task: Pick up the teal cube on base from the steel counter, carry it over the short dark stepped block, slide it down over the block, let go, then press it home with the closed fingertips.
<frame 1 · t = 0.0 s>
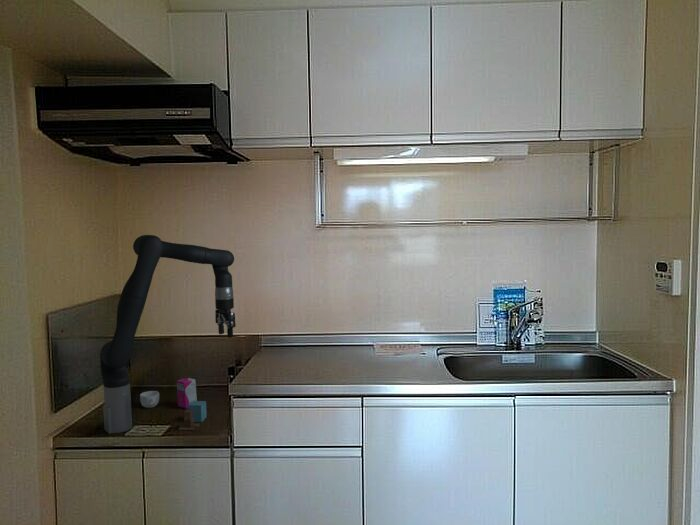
hand: (225, 335, 244), 29 cm above the countertop, tool pointing down, fingers open, 8 cm apart
dark stepped block: (189, 427, 219), on the countertop
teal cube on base: (197, 419, 227), on the countertop
supplement box: (187, 407, 243), on the countertop
teacup: (150, 407, 244), on the countertop
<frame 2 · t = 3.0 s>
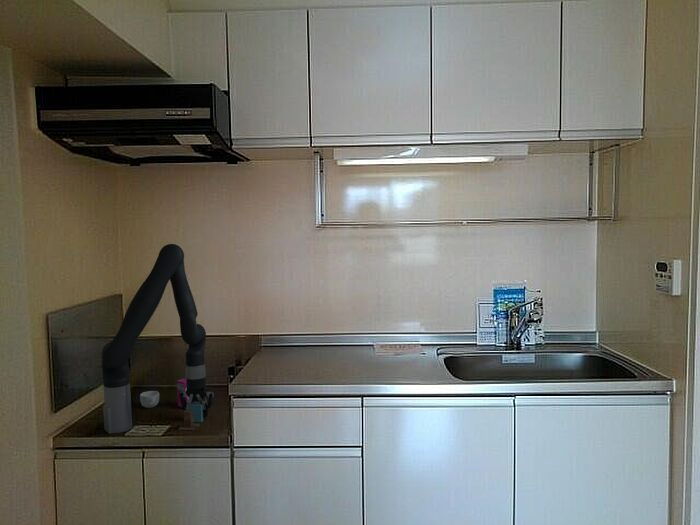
hand: (197, 417, 227), 1 cm above the countertop, tool pointing down, fingers closed on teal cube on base, 5 cm apart
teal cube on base: (197, 419, 227), on the countertop, touching gripper
everything else where it was.
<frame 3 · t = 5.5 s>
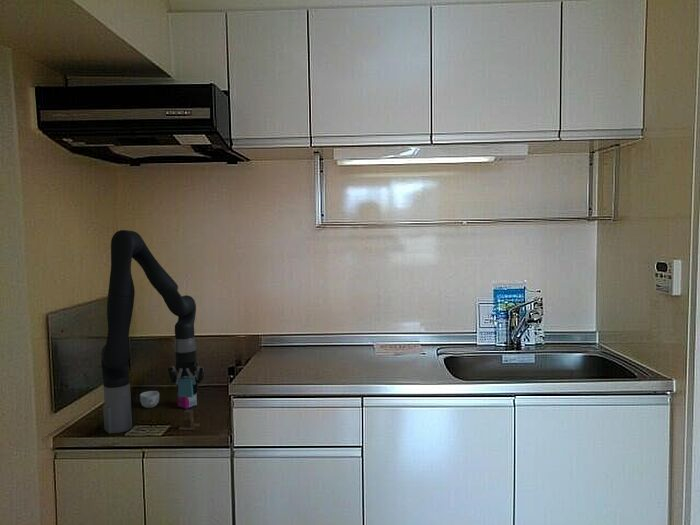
hand: (187, 393, 218), 13 cm above the countertop, tool pointing down, fingers closed on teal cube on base, 5 cm apart
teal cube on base: (188, 395, 218), point 12 cm above the countertop, touching gripper
everything else where it was.
when the fingers open (2 cm above the countertop, at t = 7.6 s): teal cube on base drops 1 cm, resting on dark stepped block.
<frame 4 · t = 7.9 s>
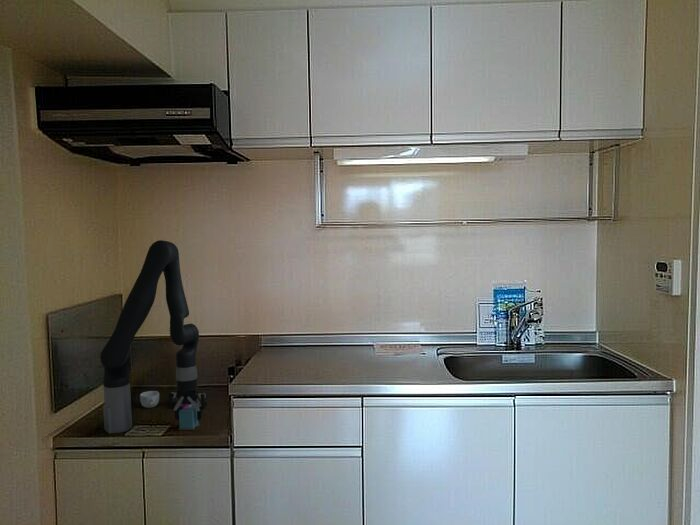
hand: (188, 419, 219), 3 cm above the countertop, tool pointing down, fingers open, 8 cm apart
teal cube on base: (189, 426, 219), resting on dark stepped block
everything else where it was.
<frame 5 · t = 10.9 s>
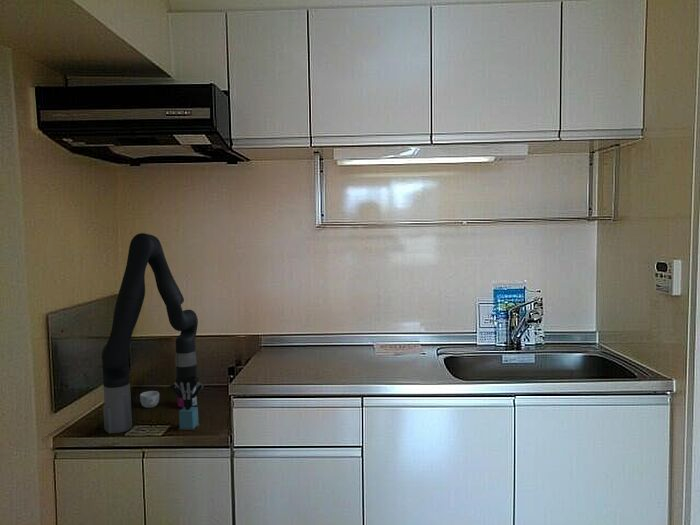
hand: (188, 408, 218), 7 cm above the countertop, tool pointing down, fingers closed
nothing on the countertop moved.
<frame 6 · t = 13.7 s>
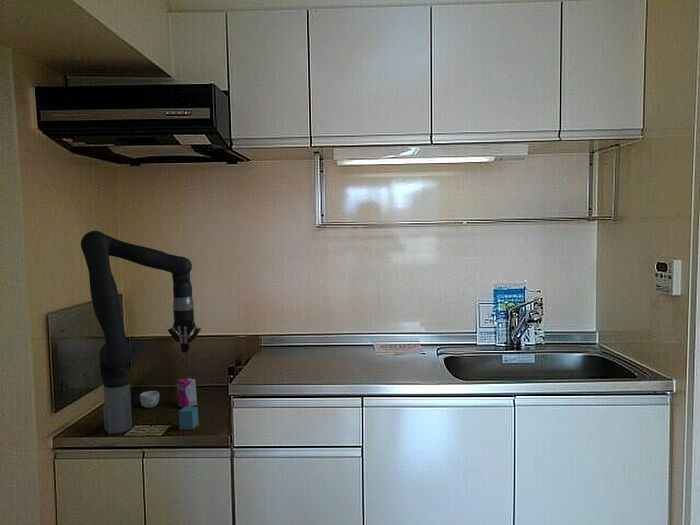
hand: (185, 352, 225), 27 cm above the countertop, tool pointing down, fingers closed
nothing on the countertop moved.
at the end: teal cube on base 0.1 cm from the dark stepped block (horizontally); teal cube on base point 0.5 cm above the countertop; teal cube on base tilted 0° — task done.
